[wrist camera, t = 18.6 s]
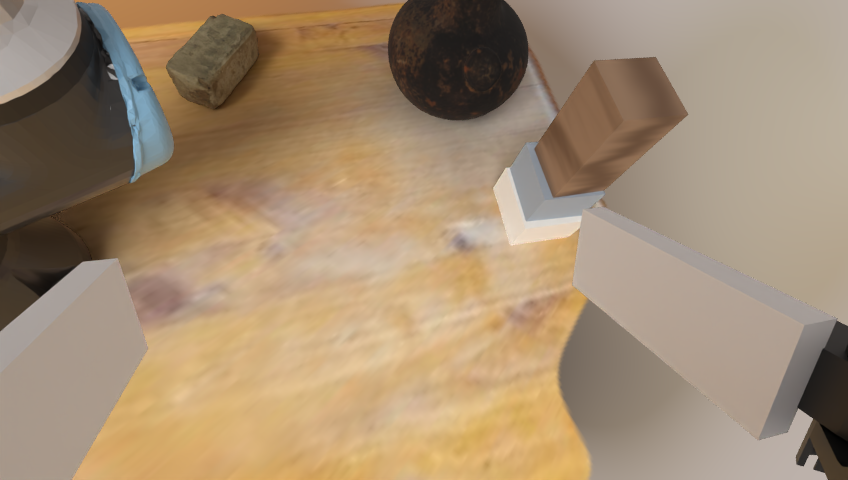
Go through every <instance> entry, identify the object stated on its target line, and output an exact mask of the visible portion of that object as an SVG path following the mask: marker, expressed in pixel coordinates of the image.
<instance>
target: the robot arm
mask: <svg viewBox="0 0 848 480" xmlns="http://www.w3.org/2000/svg"><path fill="white" fill-rule="evenodd" d="M173 151H174V140H173V136H172V133H171V130H170V127H169V124H168V122H167V119H166V117H165V115H164V112H163V110H162V108H161V106H160V103H159V101H158V99H157V97H156V95H155V93H154V91H153V89H152V87H151V86H150V84H149V83H148V82H147V79H146V76H145V74H144V72H143V70H142V68H141V65H140V63H139V61H138V59H137V57H136V55H135V54H134V52H133V50H132V48H131V46H130V45H129V43H128V41H127V39H126V38H125V36H124V34H123V33H122V31H121V29H120V28H119V26H118V25H117V23H116V22H115V20H114V19H113V18H112V16H111V14H110V13H109V12H108V11H107V10H106V9H105V8H104V7H103V6H101V5H99V4H95V3H88V4H87V3H82V2H77V3H75V1H74V0H0V480H72V478H73V476H74V475H75V473H76V471H77V470H78V468H79V466H80V464H81V463H82V461H83V459H84V458H85V456H86V454H87V452H88V451H89V449H90V447H91V446H92V444H93V442H94V440H95V439H96V437H97V435H98V434H99V432H100V430H101V428H102V427H103V425H104V423H105V422H106V420H107V418H108V416H109V415H110V413H111V411H112V410H113V408H114V406H115V404H116V403H117V401H118V399H119V398H120V396H121V394H122V392H123V391H124V389H125V387H126V386H127V384H128V382H129V380H130V379H131V377H132V375H133V374H134V372H135V370H136V368H137V367H138V365H139V363H140V362H141V360H142V358H143V357H144V355H145V353H146V351H147V350H148V346H147V343H146V340H145V337H144V334H143V331H142V328H141V325H140V322H139V319H138V316H137V313H136V310H135V307H134V304H133V301H132V299H131V296H130V293H129V290H128V287H127V284H126V281H125V278H124V275H123V272H122V269H121V266H120V263H119V260H118V258H114V259H104V260H95V261H92V259H91V255H90V252H89V250H88V248H87V246H86V245H85V243H84V242H83V240H82V239H81V238H80V237H79V236H78V235H77V234H76V233H75V232H74V231H72V230H71V229H69V228H68V227H66V226H65V225H63V224H62V223H60V222H59V221H57V220H56V219H54V218H52V217H50V216H51V215H53V214H56V213H58V212H60V211H63V210H65V209H68V208H70V207H72V206H75V205H77V204H80V203H82V202H84V201H87V200H89V199H92V198H94V197H96V196H99V195H101V194H104V193H106V192H108V191H111V190H113V189H115V188H118V187H120V186H123V185H125V184H127V183H132V182H135V181H136V180H137V179H138V178H139V177H140V176H141V175H143V174H145V173H147V172H149V171H151V170H153V169H155V168H157V167H159V166H161V165H163V164H165V163H166V162H167V161H168V160H169V159H170V158H171V157H172V154H173ZM572 285H573V286H574V287H575V288H576V289H578V290H579V291H580V292H581V293H582V294H584V295H585V296H586V297H587V298H588V299H590V300H591V301H592V302H593V303H594V304H596V305H597V306H598V307H599V308H600V309H602V310H603V311H604V312H605V313H606V314H608V315H609V316H610V317H611V318H612V319H614V320H615V321H616V322H617V323H618V324H620V325H621V326H622V327H623V328H624V329H625V330H627V331H628V332H629V333H630V334H632V335H633V336H634V337H635V338H636V339H637V340H639V341H640V342H641V343H642V344H644V345H645V346H646V347H647V348H648V349H650V350H651V351H652V352H653V353H654V354H655V355H657V356H658V357H659V358H660V359H661V360H663V361H664V362H665V363H666V364H668V365H669V366H670V367H671V368H672V369H673V370H675V371H676V372H677V373H678V374H679V375H681V376H682V377H683V378H684V379H685V380H687V381H688V382H689V383H690V384H691V385H692V386H694V387H695V388H696V389H698V390H699V391H700V392H701V393H702V394H703V395H704V396H706V397H707V398H708V399H709V400H710V401H712V402H713V403H714V404H715V405H716V406H718V407H719V408H720V409H721V410H722V411H724V412H725V413H726V414H727V415H728V416H730V417H731V418H732V419H733V420H734V421H736V422H737V423H738V424H739V425H740V426H741V427H743V428H744V429H745V430H746V431H748V432H749V433H750V434H751V435H752V436H754V437H755V438H756V439H757V440H761V439H765V438H768V437H772V436H775V435H779V434H783V433H787V432H788V430H789V428H790V425H791V423H792V421H793V419H794V417H795V414H796V412H797V410H798V408H799V409H800V410H802V411H803V412H805V413H806V414H807V415H809V416H810V417H812V418H813V421H812V423H811V425H810V427H809V429H808V432H807V434H806V436H805V438H804V440H803V442H802V445H801V447H800V449H799V451H798V453H797V455H796V463H797V465H800V466H804V464H805V462H806V460H807V458H808V456H809V455H817V456H818V460H817V462H816V464H815V466H814V470H817V471H820V472H824V473H825V474H826V476H827V479H828V480H848V326H846V325H844V324H842V323H840V322H838V321H837V318H835V317H833V316H831V315H829V314H827V313H825V312H823V311H821V310H818V309H817V308H815V307H812V306H810V305H808V304H806V303H804V302H802V301H800V300H798V299H796V298H794V297H792V296H789V295H787V294H785V293H783V292H781V291H779V290H777V289H775V288H773V287H771V286H768V285H766V284H764V283H762V282H760V281H758V280H756V279H754V278H752V277H749V276H748V275H745V274H743V273H741V272H739V271H737V270H735V269H733V268H731V267H729V266H727V265H724V264H722V263H720V262H718V261H716V260H714V259H712V258H710V257H708V256H705V255H703V254H702V253H699V252H697V251H695V250H693V249H691V248H689V247H687V246H685V245H683V244H681V243H678V242H676V241H674V240H672V239H670V238H668V237H666V236H664V235H662V234H660V233H658V232H655V231H653V230H651V229H649V228H647V227H645V226H643V225H641V224H639V223H636V222H634V221H632V220H630V219H628V218H626V217H624V216H622V215H620V214H618V213H616V212H614V211H612V210H609V209H607V208H605V207H597V208H588V209H583V211H582V218H581V225H580V233H579V240H578V247H577V254H576V261H575V269H574V276H573V283H572Z"/></svg>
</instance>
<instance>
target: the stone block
mask: <svg viewBox="0 0 848 480" xmlns="http://www.w3.org/2000/svg"><path fill="white" fill-rule="evenodd" d="M258 55H259V52H258V40H257V36H256V32H255V30H254V28H253V27H252V26H251V25H250V24H248V23H246V22H243V21H241V20H239V19H234V18H231V17H229V16H226V15H224V14H221V15H218V16H217V17H215V16H210V17H209V18H208V19H207V21H206V22H205V23H204V24H203V25H202V26H201V27H200V28H199V29H198V31H197V32H196V33H195V34H194V35H193V36H192V38H191V39H190V40H189V41H188V42H187V43H186V44H185V45H184V46H183V47H182V48H181V49H179V50H178V51H177V52H176V53H175V54H174V56H173V57H172V58H171V59H170V60H169V61H168V63H167V66H166V69H167V71H168V74H169V76H170V77H171V78H172V80H173V83H174V84H175V86H176V88H177V90H178V92H179V93H180V94H181V96H182V97H184V98H186V99H187V100H189V101H191V102H194V103H197V104H204V105H205V106H208V107H210V108H212V109H214V108H217V107H218V106H219V105H221V104H222V103H223V102H224V101H225V99H226V98H227V97H228V96H229V95H230V93H231V92H232V91H233V89H234V88H235V87H236V85H237V84H238V83H239V82H240V81H241V80H242V78H243V77H244V76H245V75H246V73H247V71H248V70H249V69H250V68H251V67H252V65H253V64H254V63H255V61H256V59H257V57H258Z"/></svg>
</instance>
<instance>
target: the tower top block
mask: <svg viewBox="0 0 848 480" xmlns="http://www.w3.org/2000/svg"><path fill="white" fill-rule="evenodd" d="M537 144H538V142H530V143H525V145H524V147H523V148H522V150H521V151H520V153H519V155H518V156H517V158H516V159H515V161H514V162H513V164H512V166H511V167H510V171H511V174H512V177H513V181H514V184H515V187H516V191H517V194H518V197H519V200H520V204H521V207H522V210H523V214H524V217H525V220H526V222H527V221H536V220H545V219H555V218H564V217H573V216H582V211H583V209H588V208H591V207H592V206H593V205H594V204H595V203H596V202H597V201H599V200H600V199H601V198H602V197H603V196H604V195H605V192H604V191H598V192H591V193H584V194H577V195H570V196H563V197H556V198H553V196H552V194H551V191H550V189H549V186H548V183H547V181H546V178H545V176H544V173H543V171H542V168H541V165H540V163H539V160H538V158H537V155H536V153H535V150H534V148H535V147H536V145H537Z"/></svg>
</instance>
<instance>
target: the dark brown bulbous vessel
mask: <svg viewBox="0 0 848 480" xmlns="http://www.w3.org/2000/svg"><path fill="white" fill-rule="evenodd" d="M388 55H389V63H390V67H391V70H392V74H393V76H394V79H395V81H396V83H397V85H398V87H399V89H400V90H401V91H402V93H403V94H404V95H405V97H406V98H407V99H408V100H409V101H410V102H411V103H413V105H415V106H416V107H417V108H419V109H420V110H422V111H424V112H426V113H428V114H430V115H433V116H435V117H438V118H443V119H448V120H466V119H471V118H476V117H479V116H481V115H484V114H486V113H488V112H490V111H492V110H494V109H496V108H497V107H499V106H500V105H501V104H503V103H504V102H505V101H506V100H507V99H508V98H509V97H510V96H511V95H512V94H513V93H514V92H515V90H516V89H517V88H518V86H519V84H520V82H521V80H522V78H523V77H524V74H525V71H526V67H527V63H528V41H527V36H526V32H525V29H524V27H523V24H522V22H521V20H520V19H519V17H518V15H517V14H516V13H515V11H514V10H513V9H512V8H511V7H510V6H509V5H508V4H507V3H506V2H505V1H504V0H408V1H407V2H406V3H405V4H404V5H403V6H402V8H401V9H400V11H399V12H398V14H397V15H396V17H395V19H394V21H393V24H392V27H391V30H390V34H389V42H388Z"/></svg>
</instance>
